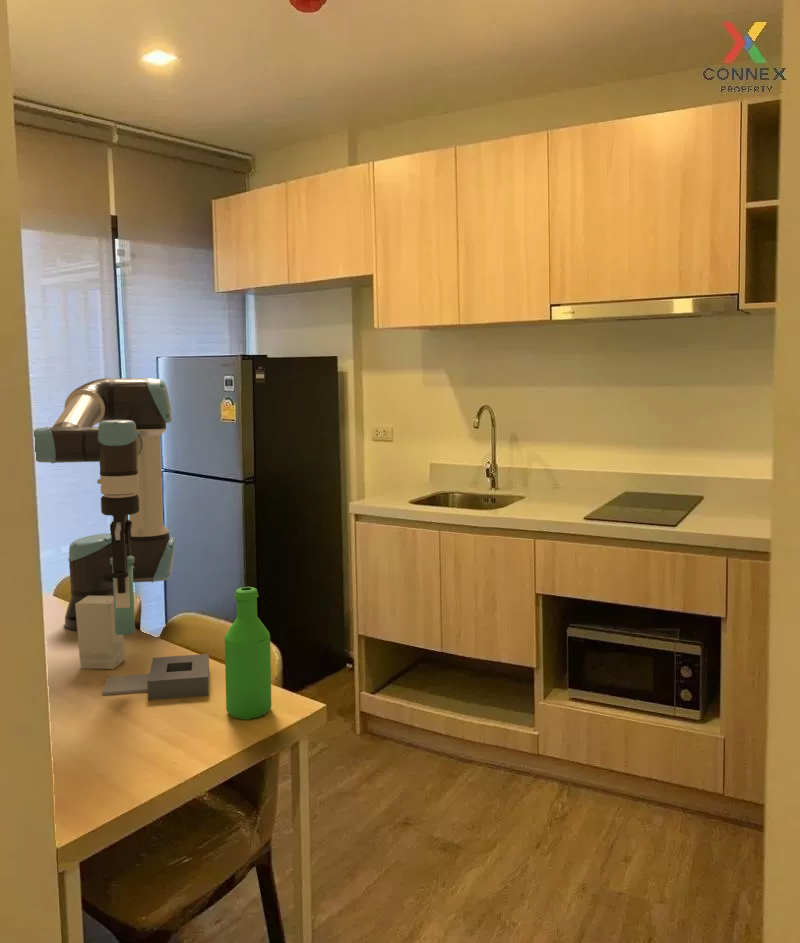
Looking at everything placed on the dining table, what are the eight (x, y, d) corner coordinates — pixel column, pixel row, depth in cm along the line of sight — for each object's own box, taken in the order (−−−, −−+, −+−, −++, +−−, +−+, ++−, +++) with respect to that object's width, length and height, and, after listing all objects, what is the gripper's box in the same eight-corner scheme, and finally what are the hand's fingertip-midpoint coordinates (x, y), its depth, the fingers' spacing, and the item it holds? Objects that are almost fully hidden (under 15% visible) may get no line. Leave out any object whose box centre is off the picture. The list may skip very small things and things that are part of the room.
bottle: (263, 699, 168) (261, 581, 164) (277, 715, 160) (275, 591, 157) (221, 707, 164) (218, 586, 160) (233, 724, 156) (230, 597, 153)
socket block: (153, 675, 181) (152, 657, 180) (209, 671, 183) (208, 653, 183) (148, 700, 167) (147, 681, 167) (208, 695, 170) (207, 676, 169)
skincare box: (125, 660, 190) (123, 595, 188) (113, 670, 183) (110, 603, 181) (91, 659, 191) (88, 594, 189) (77, 669, 184) (74, 602, 182)
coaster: (108, 679, 178) (107, 676, 178) (151, 676, 180) (150, 673, 180) (102, 695, 169) (102, 692, 169) (147, 691, 171) (147, 689, 171)
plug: (114, 629, 175) (111, 556, 173) (138, 627, 176) (135, 555, 174) (111, 636, 170) (108, 561, 168) (135, 634, 171) (133, 560, 169)
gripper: (106, 489, 177) (110, 594, 180) (94, 501, 160) (99, 617, 163) (142, 488, 179) (146, 592, 181) (134, 500, 162) (138, 614, 165)
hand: (124, 604), depth 172 cm, fingers closed on plug, 4 cm apart
